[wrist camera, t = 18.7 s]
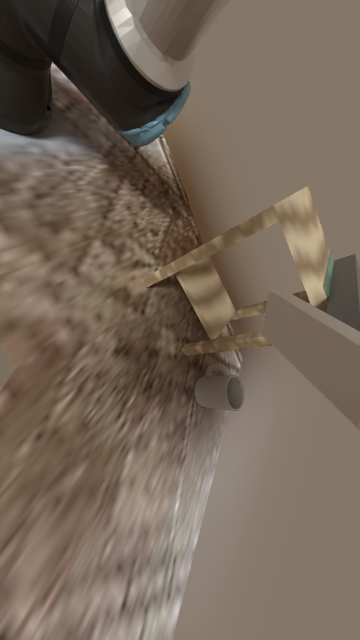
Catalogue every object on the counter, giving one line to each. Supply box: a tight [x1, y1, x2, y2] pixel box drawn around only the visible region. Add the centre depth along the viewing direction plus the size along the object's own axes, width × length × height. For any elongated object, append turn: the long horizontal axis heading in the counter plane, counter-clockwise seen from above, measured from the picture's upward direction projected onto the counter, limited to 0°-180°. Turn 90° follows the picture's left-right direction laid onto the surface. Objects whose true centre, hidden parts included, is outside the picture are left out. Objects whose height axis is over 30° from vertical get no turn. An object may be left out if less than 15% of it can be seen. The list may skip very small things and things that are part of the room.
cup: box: [194, 363, 244, 411], centre depth 50 cm, size 7×10×9 cm
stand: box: [141, 186, 335, 356], centre depth 43 cm, size 20×16×30 cm
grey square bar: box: [327, 254, 360, 332], centre depth 29 cm, size 3×26×3 cm, turn 131°
